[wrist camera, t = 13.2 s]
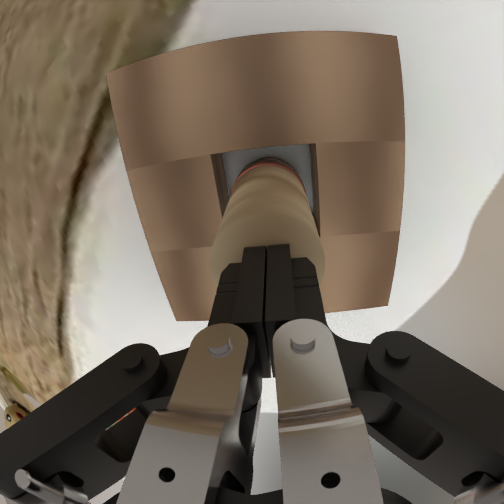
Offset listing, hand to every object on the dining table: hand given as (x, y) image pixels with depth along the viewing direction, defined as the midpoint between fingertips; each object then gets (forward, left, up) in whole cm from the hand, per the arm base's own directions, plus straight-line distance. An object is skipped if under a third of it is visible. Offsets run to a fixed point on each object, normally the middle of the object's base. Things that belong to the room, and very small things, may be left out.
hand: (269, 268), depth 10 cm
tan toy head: (-78, -53, -10) cm, 95 cm away
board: (0, 0, -10) cm, 10 cm away
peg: (0, 0, -10) cm, 10 cm away
